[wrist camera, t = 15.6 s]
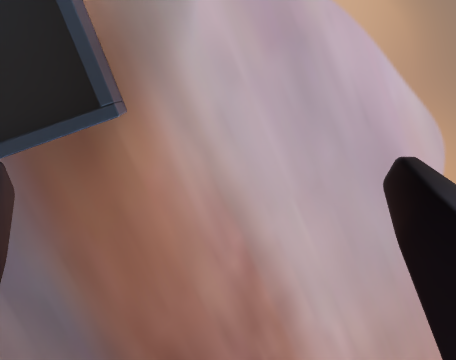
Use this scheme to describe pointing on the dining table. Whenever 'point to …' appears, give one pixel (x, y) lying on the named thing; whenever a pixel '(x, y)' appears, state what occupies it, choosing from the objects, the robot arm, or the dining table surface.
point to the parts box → (51, 74)
